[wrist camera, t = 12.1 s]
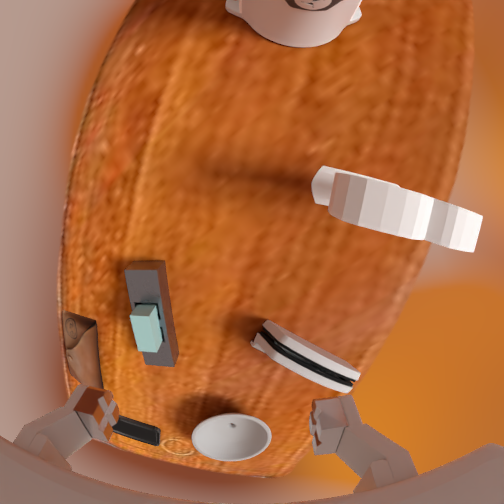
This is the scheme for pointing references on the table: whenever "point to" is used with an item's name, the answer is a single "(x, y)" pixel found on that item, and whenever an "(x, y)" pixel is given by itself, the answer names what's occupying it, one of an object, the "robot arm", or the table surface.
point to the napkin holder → (305, 358)
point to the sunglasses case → (82, 348)
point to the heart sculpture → (395, 209)
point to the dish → (231, 437)
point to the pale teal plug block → (147, 327)
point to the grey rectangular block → (154, 291)
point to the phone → (137, 430)
